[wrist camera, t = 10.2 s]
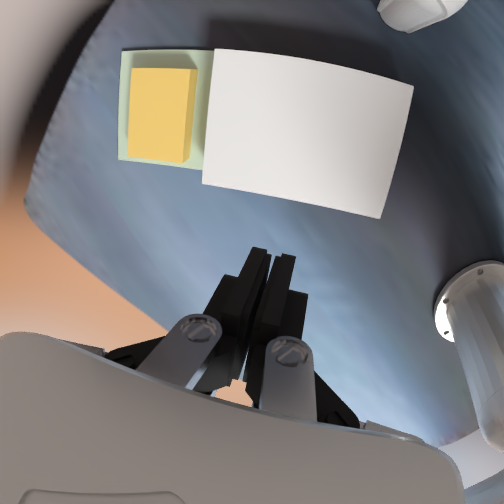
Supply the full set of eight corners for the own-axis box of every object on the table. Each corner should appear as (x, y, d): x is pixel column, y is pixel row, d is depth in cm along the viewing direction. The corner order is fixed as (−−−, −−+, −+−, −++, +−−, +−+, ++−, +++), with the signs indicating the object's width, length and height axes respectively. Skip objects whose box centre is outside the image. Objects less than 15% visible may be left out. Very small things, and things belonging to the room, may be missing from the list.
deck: (401, 84, 24) (414, 86, 21) (372, 202, 30) (379, 219, 27) (227, 51, 25) (214, 48, 22) (214, 170, 32) (201, 183, 28)
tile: (131, 68, 25) (141, 67, 27) (127, 156, 30) (137, 151, 32) (190, 69, 25) (198, 69, 26) (182, 163, 29) (189, 158, 31)
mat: (224, 51, 25) (223, 51, 25) (211, 170, 32) (210, 171, 31) (124, 51, 26) (122, 51, 26) (120, 158, 33) (118, 159, 32)
